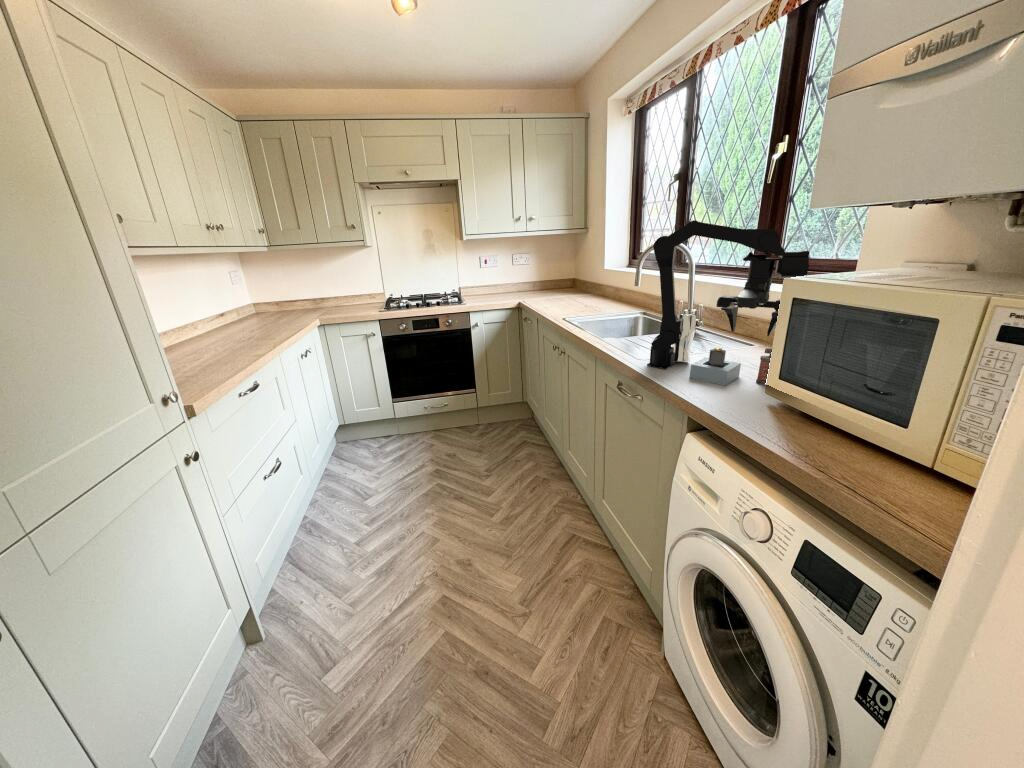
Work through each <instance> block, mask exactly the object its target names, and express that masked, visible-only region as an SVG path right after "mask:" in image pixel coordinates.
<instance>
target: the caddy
mask: <svg viewBox="0 0 1024 768" xmlns="http://www.w3.org/2000/svg"><path fill="white" fill-rule="evenodd" d="M708 362H709V357H706V356H705V357H704V358H701V359H699V360H697V361H695V362H693V363H691V364H690V370H689V379H692V378H693V380H698V381H703V382H707V383H713V384H718V385H721V386H722V385H723V386H727V385H728V384H730V383H732V382H733V381H734V380H736V379H738V378H739V376H740V371H741V365H742V363H741V362H737V361H736V362H735V361H729V360H724V367H723V368H720V367H715V366H709V365H708Z"/></svg>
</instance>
